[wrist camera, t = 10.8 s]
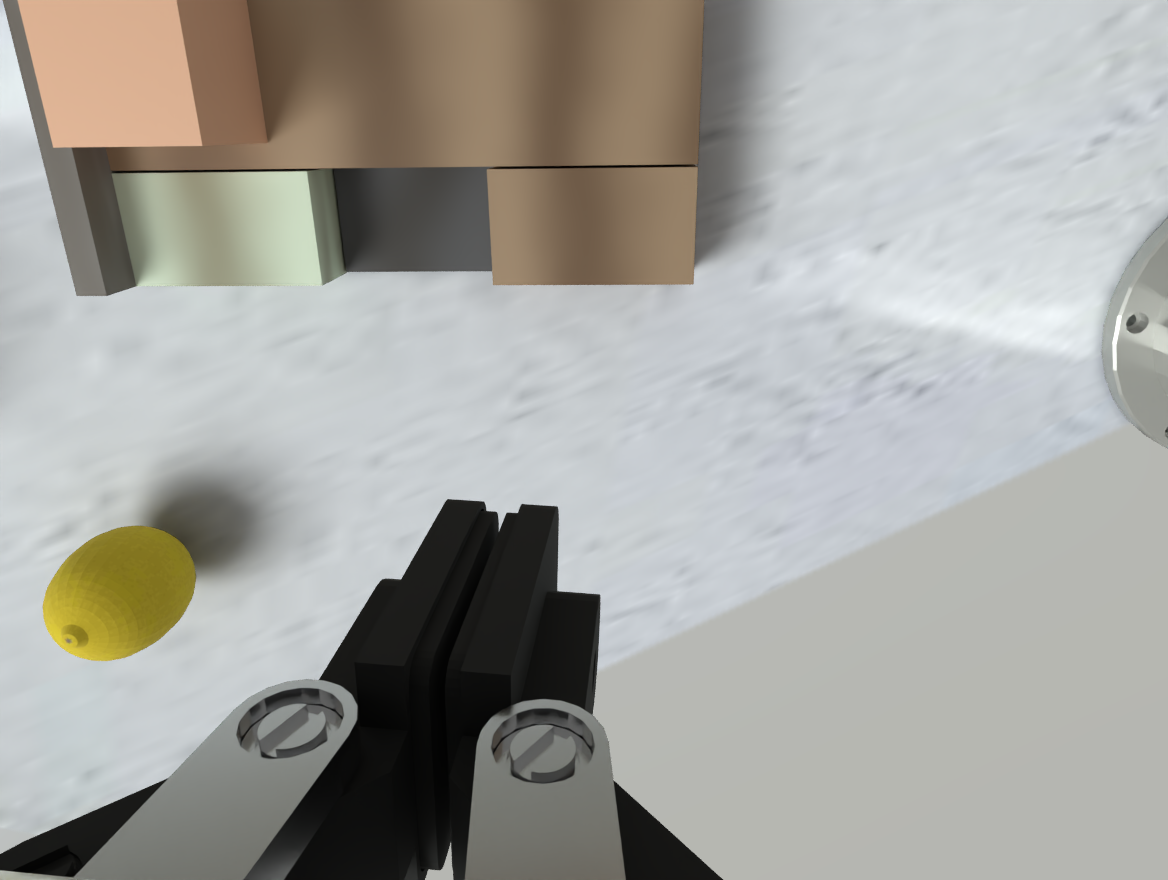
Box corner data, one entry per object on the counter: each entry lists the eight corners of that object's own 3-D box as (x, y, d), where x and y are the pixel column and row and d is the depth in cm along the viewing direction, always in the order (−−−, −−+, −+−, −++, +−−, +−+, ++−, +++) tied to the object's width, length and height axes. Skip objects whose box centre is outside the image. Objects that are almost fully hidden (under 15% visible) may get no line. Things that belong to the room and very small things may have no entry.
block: (245, -7, 28) (170, -32, 24) (267, 142, 30) (202, 145, 26) (110, -4, 29) (10, -28, 24) (140, 144, 30) (53, 147, 26)
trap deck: (704, -181, 28) (718, -241, 24) (688, 271, 34) (697, 294, 29) (56, -159, 29) (-51, -212, 25) (149, 273, 35) (76, 296, 31)
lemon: (230, 518, 40) (139, 608, 32) (215, 606, 42) (126, 709, 34) (122, 485, 39) (5, 568, 32) (112, 575, 41) (0, 674, 34)
